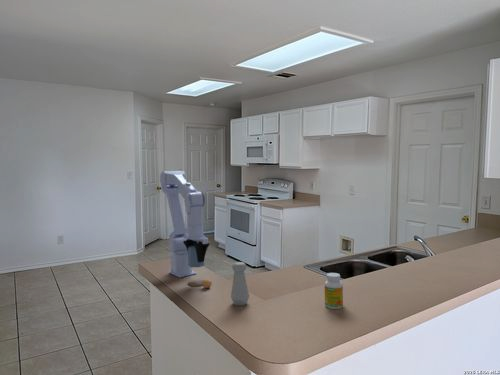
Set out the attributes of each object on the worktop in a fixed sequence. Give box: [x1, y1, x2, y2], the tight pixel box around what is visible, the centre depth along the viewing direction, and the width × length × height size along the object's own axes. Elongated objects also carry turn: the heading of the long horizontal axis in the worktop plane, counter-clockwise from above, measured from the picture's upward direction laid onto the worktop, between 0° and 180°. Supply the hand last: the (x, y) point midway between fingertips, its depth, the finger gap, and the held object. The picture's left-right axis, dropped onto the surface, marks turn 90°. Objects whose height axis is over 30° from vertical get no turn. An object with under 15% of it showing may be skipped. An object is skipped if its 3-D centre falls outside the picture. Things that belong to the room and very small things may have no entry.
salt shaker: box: [230, 261, 250, 307], centre depth 111 cm, size 6×6×13 cm
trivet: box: [187, 279, 205, 287], centre depth 133 cm, size 7×7×1 cm
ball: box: [202, 278, 212, 289], centre depth 127 cm, size 3×3×3 cm
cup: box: [188, 245, 206, 268], centre depth 132 cm, size 6×6×7 cm
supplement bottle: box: [324, 272, 344, 310], centre depth 107 cm, size 5×5×10 cm
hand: (196, 260), depth 132 cm, fingers closed on cup, 6 cm apart
